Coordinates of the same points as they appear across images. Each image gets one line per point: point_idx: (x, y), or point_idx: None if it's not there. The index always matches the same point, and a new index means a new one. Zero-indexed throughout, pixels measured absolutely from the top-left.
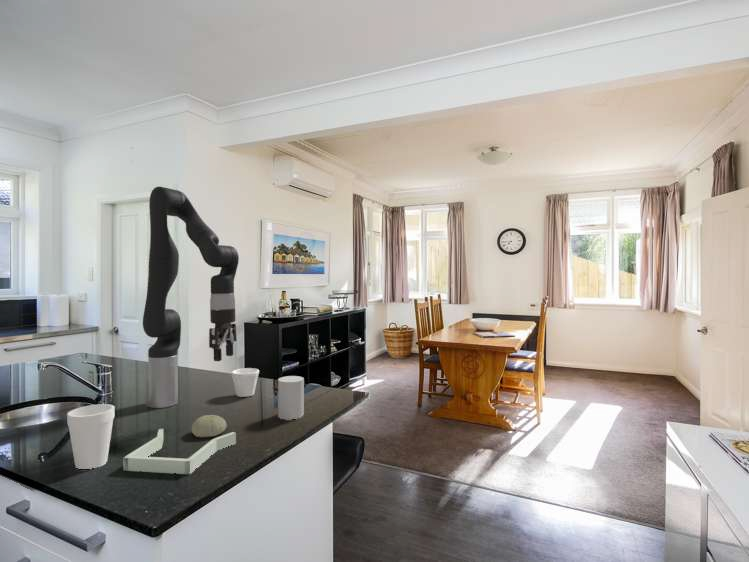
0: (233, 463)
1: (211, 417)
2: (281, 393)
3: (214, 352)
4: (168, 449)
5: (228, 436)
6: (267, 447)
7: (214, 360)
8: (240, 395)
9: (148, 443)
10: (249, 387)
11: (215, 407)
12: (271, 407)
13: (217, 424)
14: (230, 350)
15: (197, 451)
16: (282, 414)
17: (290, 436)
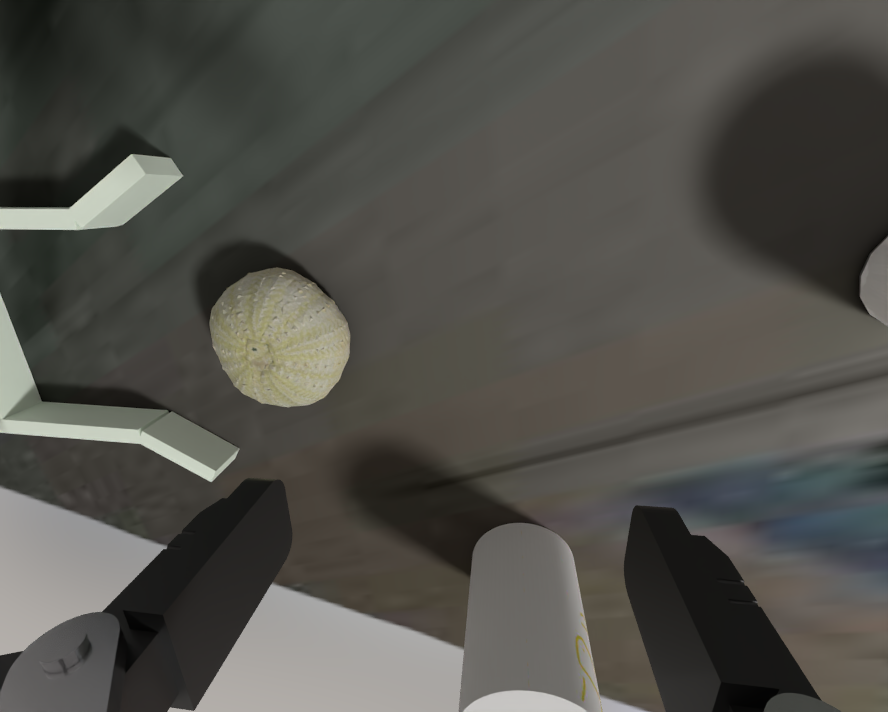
0: (128, 491)
1: (258, 367)
2: (472, 638)
3: (137, 588)
4: (122, 259)
5: (185, 465)
6: None
7: (252, 482)
8: (873, 261)
9: (11, 218)
10: None
11: (648, 187)
12: (637, 475)
13: (250, 396)
14: (650, 629)
15: (48, 424)
16: (476, 558)
17: (331, 585)
